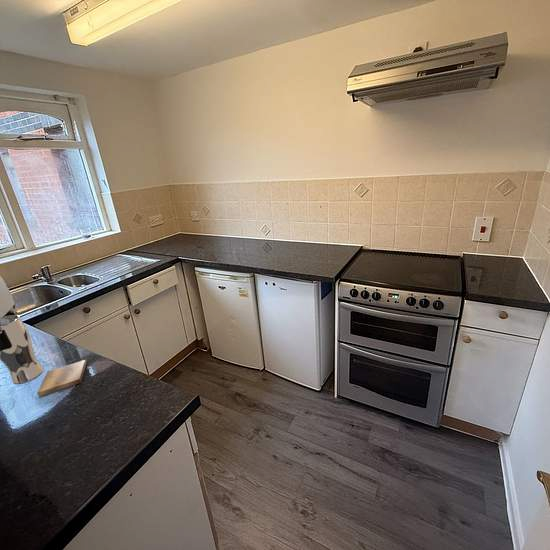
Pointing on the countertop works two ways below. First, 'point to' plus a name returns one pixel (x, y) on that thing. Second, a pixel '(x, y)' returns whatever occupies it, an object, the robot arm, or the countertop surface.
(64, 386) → the board
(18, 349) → the beer glass
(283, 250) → the countertop surface
